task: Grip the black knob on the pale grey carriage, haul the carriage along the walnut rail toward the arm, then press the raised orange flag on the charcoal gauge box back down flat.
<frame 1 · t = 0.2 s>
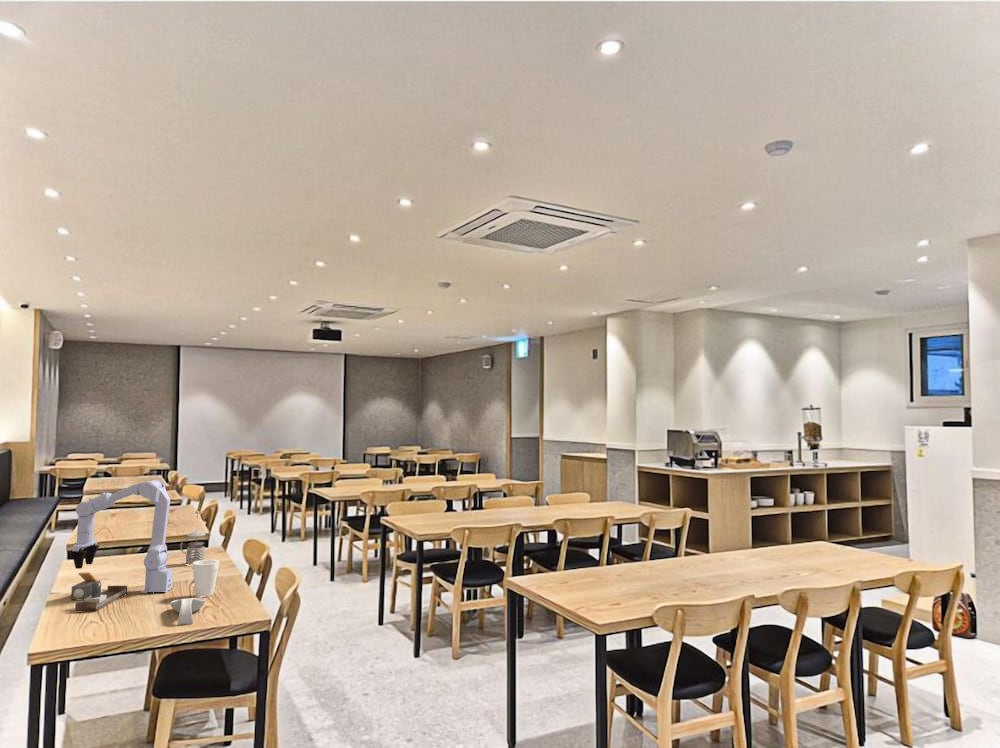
hand: (83, 566, 268), 10 cm above the table, tool pointing down, fingers open, 7 cm apart
french press: (193, 564, 320), on the table
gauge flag: (87, 576, 262), point 7 cm above the table, hinge at 35.0°
rail: (102, 602, 253), on the table
foam cup: (204, 596, 264), on the table
gauge box: (85, 596, 261), on the table
carriage: (96, 592, 248), point 5 cm above the table, slide at 5.0 cm
spoon rest: (187, 616, 239), on the table
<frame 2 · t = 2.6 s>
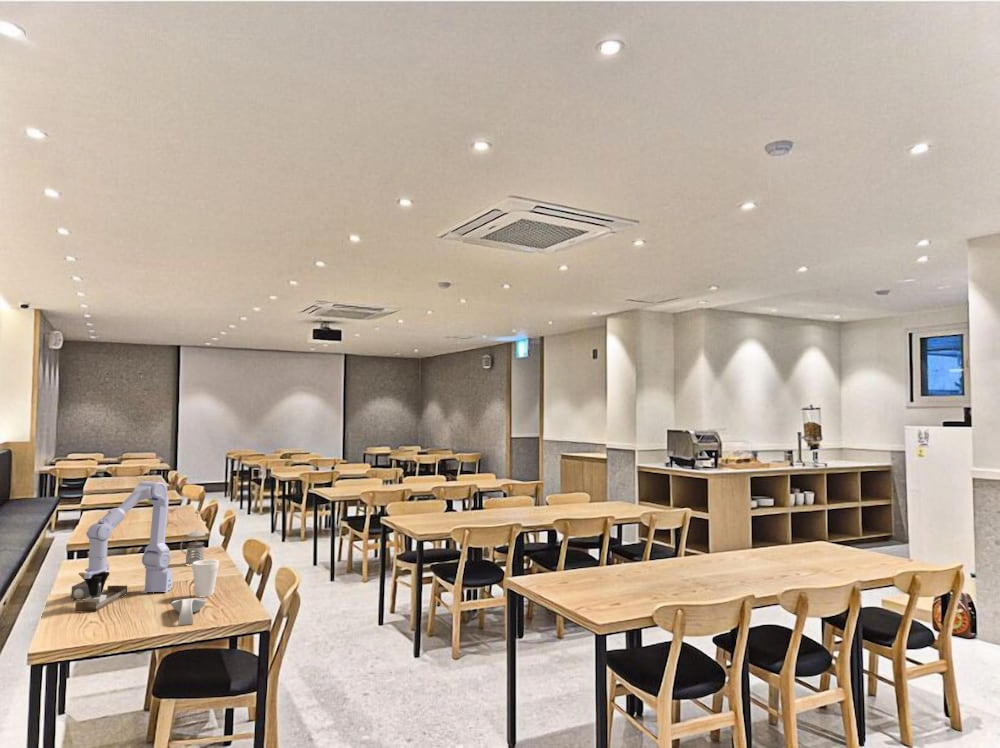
hand: (96, 594, 248), 4 cm above the table, tool pointing down, fingers closed on carriage, 3 cm apart
carriage: (96, 592, 248), point 5 cm above the table, slide at 5.0 cm, touching gripper
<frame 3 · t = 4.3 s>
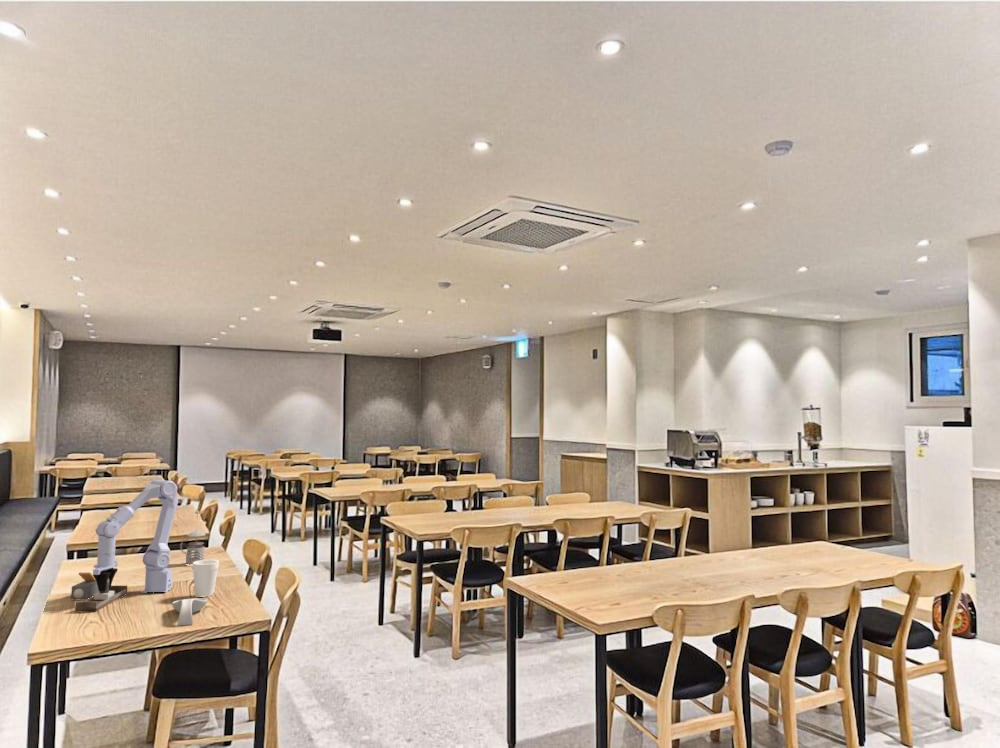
hand: (104, 590, 254), 4 cm above the table, tool pointing down, fingers closed on carriage, 3 cm apart
carriage: (104, 588, 254), point 5 cm above the table, slide at -1.2 cm, touching gripper
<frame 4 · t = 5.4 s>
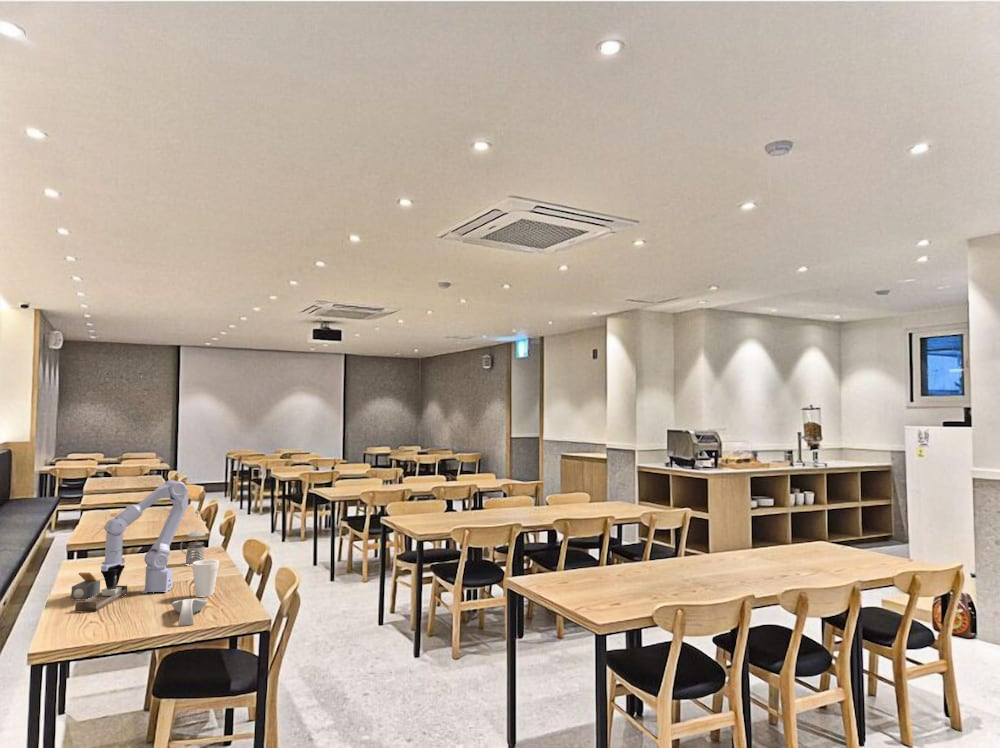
hand: (112, 586, 260), 4 cm above the table, tool pointing down, fingers closed on carriage, 3 cm apart
carriage: (112, 584, 260), point 5 cm above the table, slide at -7.0 cm, touching gripper
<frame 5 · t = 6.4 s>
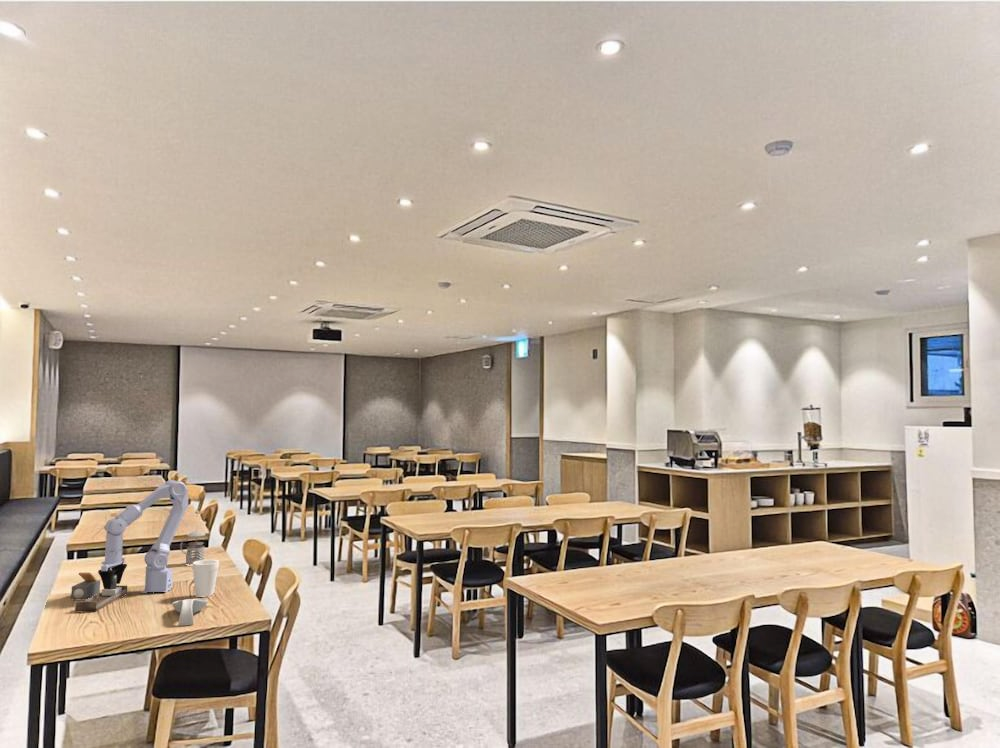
hand: (112, 586, 260), 4 cm above the table, tool pointing down, fingers open, 7 cm apart
carriage: (112, 584, 260), point 5 cm above the table, slide at -7.0 cm
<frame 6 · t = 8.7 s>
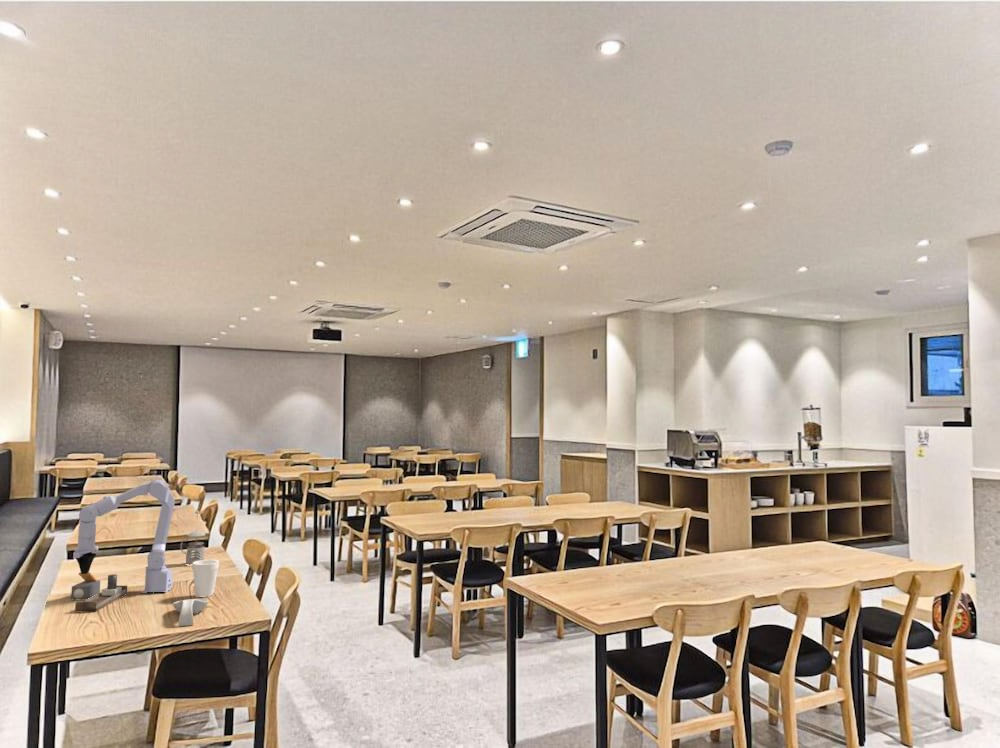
hand: (84, 573, 260), 9 cm above the table, tool pointing down, fingers closed, pressing on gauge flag
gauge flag: (87, 576, 262), point 7 cm above the table, hinge at 35.0°, touching gripper
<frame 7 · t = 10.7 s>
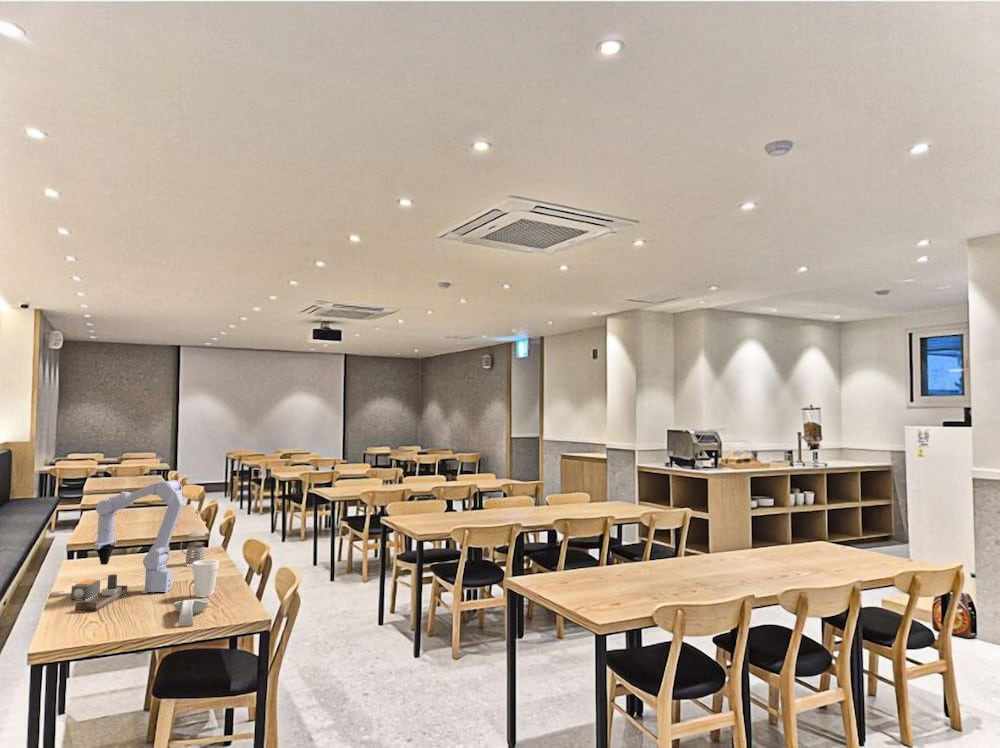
hand: (104, 564, 271), 10 cm above the table, tool pointing down, fingers closed
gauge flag: (86, 582, 261), point 5 cm above the table, hinge at -0.8°, touching gauge box
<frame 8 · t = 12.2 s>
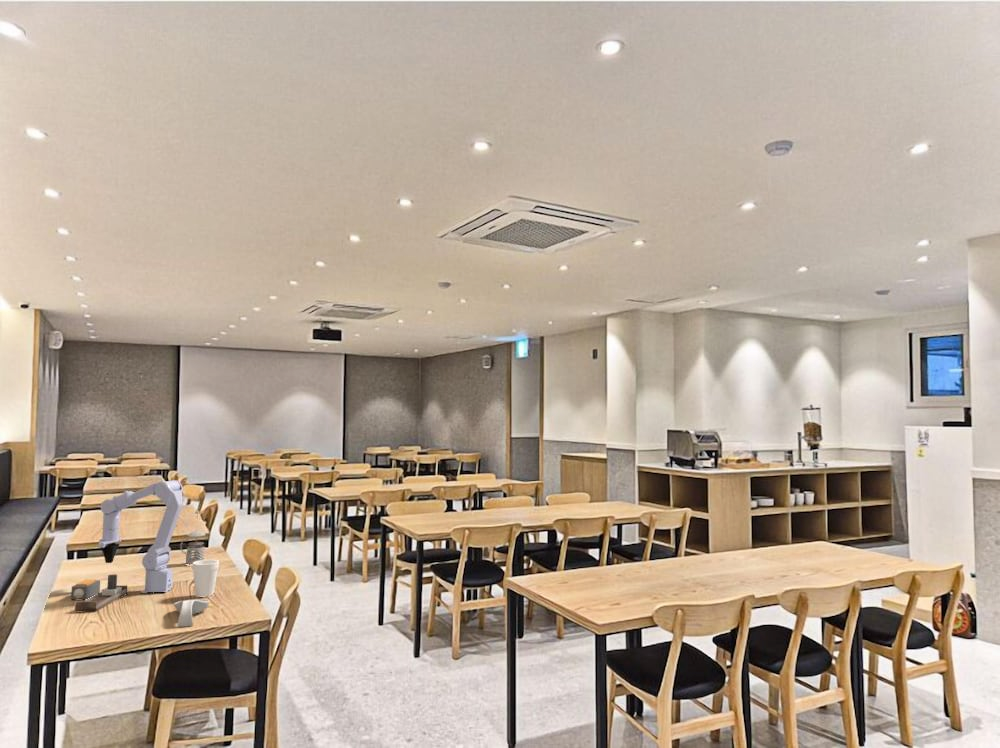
hand: (109, 562, 274), 10 cm above the table, tool pointing down, fingers closed
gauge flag: (86, 582, 261), point 5 cm above the table, hinge at -0.4°, touching gauge box
at the end: carriage slide at -7.0 cm; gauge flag at +0° (first picture: +35°) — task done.
